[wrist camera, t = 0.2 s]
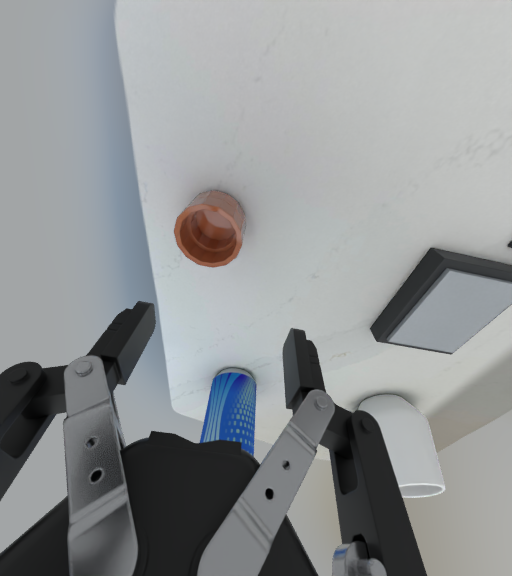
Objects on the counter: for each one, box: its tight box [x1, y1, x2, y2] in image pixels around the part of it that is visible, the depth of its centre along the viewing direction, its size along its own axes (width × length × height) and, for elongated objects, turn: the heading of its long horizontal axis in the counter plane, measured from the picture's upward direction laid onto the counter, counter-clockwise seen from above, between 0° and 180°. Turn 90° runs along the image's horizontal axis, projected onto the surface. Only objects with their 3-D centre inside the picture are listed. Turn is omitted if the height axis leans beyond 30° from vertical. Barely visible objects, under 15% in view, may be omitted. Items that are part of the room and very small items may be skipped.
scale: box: [370, 248, 512, 354], centre depth 29 cm, size 14×12×3 cm
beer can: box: [200, 368, 256, 456], centre depth 38 cm, size 8×8×16 cm
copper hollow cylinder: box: [174, 190, 246, 267], centre depth 23 cm, size 6×6×5 cm
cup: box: [358, 394, 446, 498], centre depth 42 cm, size 13×13×14 cm
